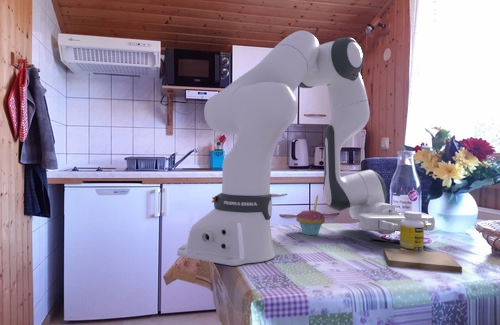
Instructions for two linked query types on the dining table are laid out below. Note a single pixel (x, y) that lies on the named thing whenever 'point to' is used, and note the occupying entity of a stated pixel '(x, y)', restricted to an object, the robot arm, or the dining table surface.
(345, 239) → the dining table surface
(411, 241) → the supplement bottle
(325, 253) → the dining table surface
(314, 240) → the dining table surface
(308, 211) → the cupcake
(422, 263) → the serving board
